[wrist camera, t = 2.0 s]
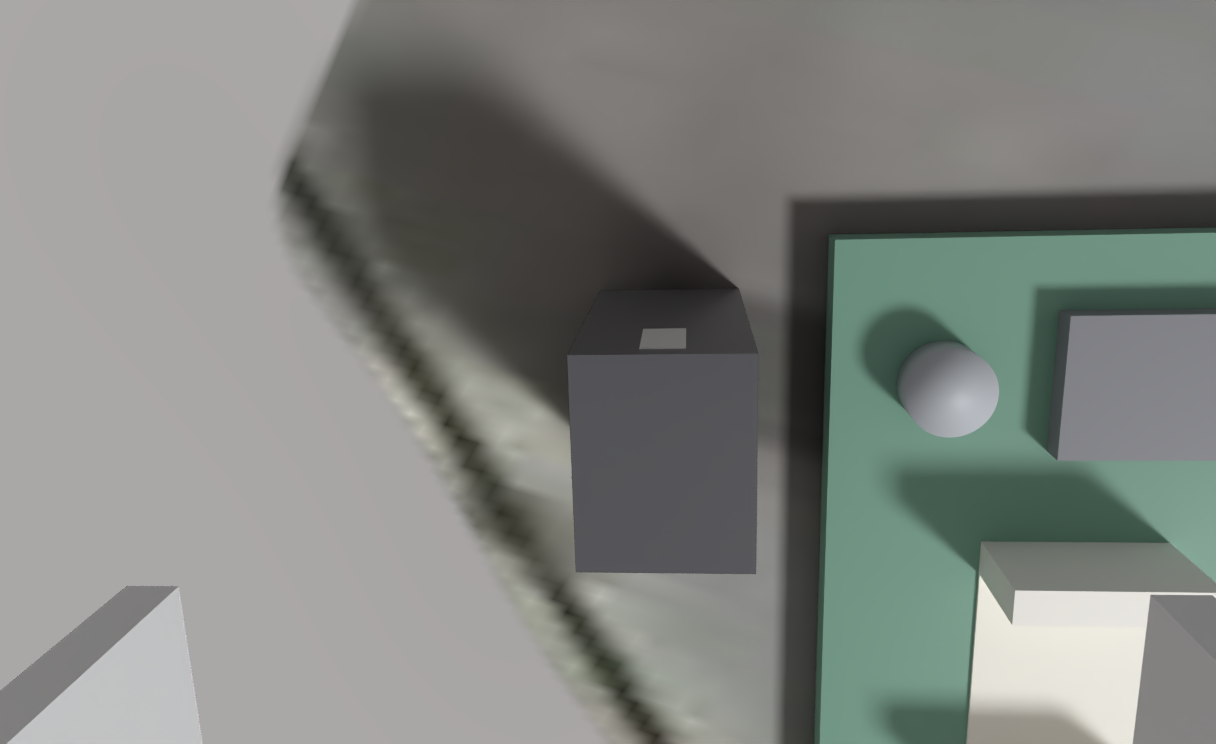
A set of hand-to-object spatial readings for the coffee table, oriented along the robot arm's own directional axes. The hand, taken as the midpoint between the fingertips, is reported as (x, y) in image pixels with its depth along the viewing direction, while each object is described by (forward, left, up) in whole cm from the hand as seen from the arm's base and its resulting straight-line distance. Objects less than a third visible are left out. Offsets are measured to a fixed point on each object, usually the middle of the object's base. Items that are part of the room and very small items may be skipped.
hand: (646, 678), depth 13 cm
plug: (0, 0, -16) cm, 16 cm away
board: (+6, +12, -16) cm, 21 cm away
